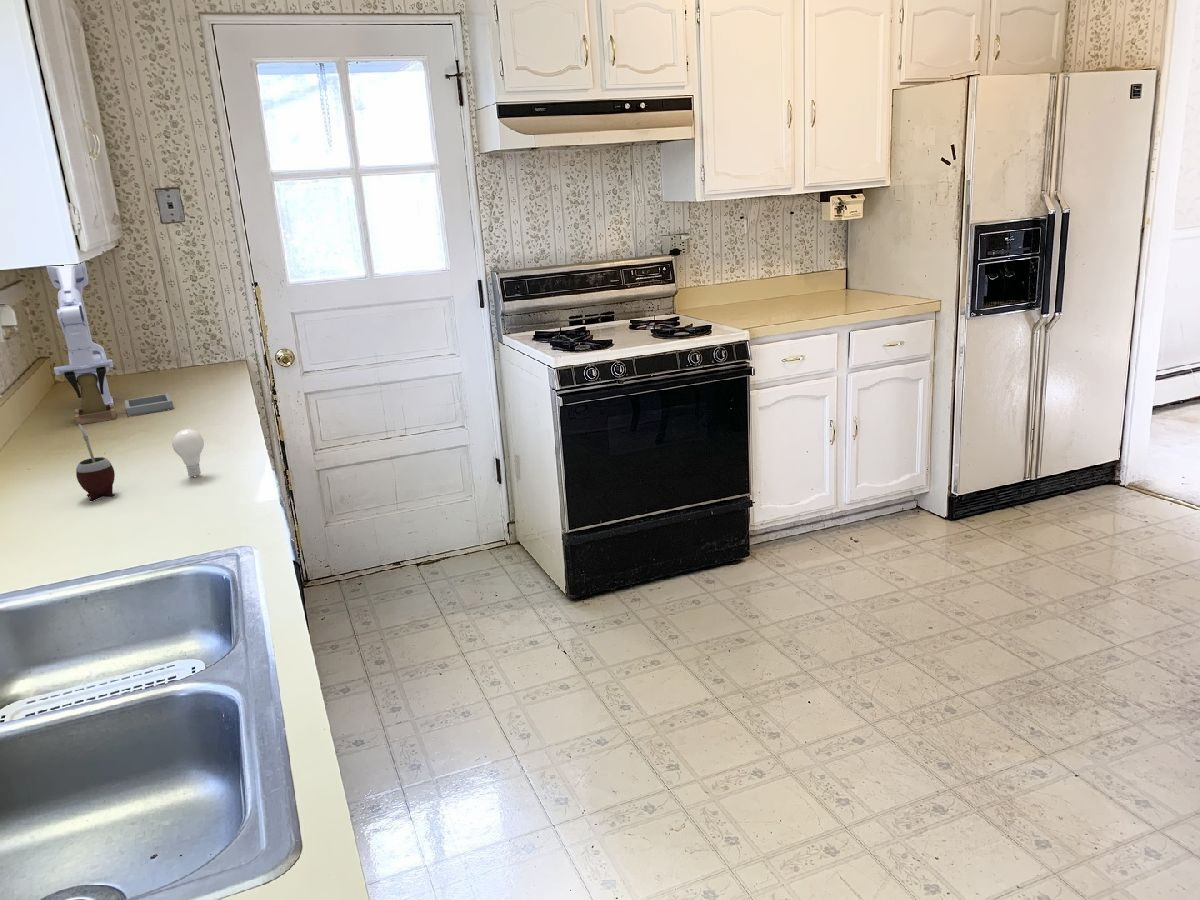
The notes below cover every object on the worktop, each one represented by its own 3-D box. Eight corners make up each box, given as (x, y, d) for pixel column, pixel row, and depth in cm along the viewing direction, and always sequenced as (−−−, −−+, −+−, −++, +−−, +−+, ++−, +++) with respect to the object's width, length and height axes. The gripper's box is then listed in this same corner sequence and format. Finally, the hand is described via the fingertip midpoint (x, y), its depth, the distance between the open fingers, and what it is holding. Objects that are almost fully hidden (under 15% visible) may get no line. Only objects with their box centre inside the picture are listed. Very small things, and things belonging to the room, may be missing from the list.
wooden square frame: (76, 418, 262) (74, 409, 261) (115, 411, 266) (113, 403, 265) (76, 425, 253) (74, 416, 253) (116, 418, 258) (114, 410, 257)
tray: (126, 408, 269) (124, 400, 268) (170, 401, 275) (168, 393, 274) (128, 416, 259) (126, 408, 258) (173, 409, 265) (171, 401, 264)
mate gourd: (104, 502, 190) (87, 433, 185) (71, 502, 191) (53, 434, 187) (127, 489, 197) (112, 423, 192) (95, 489, 198) (79, 423, 193)
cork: (111, 408, 261) (102, 370, 258) (98, 413, 256) (89, 375, 253) (91, 409, 262) (82, 372, 259) (78, 414, 256) (68, 376, 253)
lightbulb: (215, 475, 203) (205, 428, 199) (187, 483, 198) (177, 435, 195) (202, 470, 207) (192, 423, 203) (174, 478, 202) (164, 431, 199)
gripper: (49, 354, 247) (61, 402, 251) (109, 346, 253) (120, 393, 258) (50, 350, 253) (62, 397, 257) (108, 343, 259) (118, 389, 264)
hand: (91, 395), depth 258 cm, fingers closed on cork, 5 cm apart
